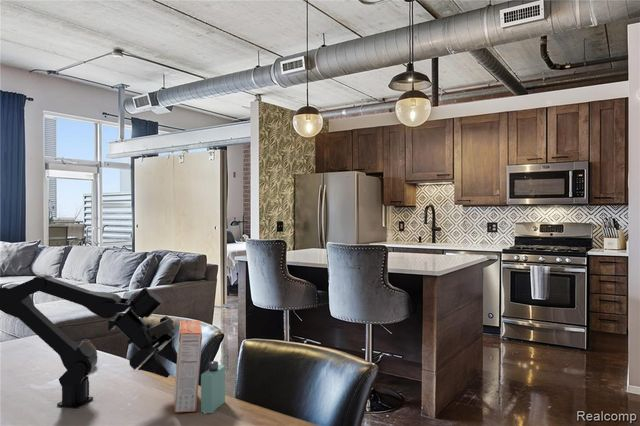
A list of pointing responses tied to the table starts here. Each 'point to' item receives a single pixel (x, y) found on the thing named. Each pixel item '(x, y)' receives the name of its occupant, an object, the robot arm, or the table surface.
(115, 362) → the table surface
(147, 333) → the robot arm
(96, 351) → the vase
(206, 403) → the teal flask bottle
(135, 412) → the table surface
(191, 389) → the cracker box
